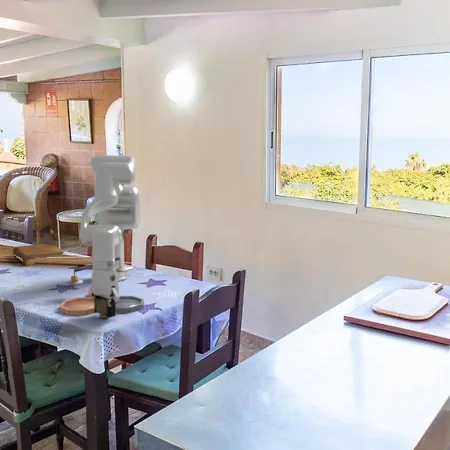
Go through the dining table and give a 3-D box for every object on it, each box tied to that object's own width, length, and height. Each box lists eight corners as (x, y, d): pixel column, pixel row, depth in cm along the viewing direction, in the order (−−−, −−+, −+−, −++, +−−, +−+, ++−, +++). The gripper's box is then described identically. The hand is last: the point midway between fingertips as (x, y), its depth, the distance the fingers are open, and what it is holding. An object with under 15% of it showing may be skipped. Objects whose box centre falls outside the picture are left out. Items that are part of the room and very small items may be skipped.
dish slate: (126, 297, 209) (126, 293, 209) (151, 306, 200) (151, 301, 200) (95, 306, 199) (95, 301, 198) (119, 315, 189) (119, 310, 189)
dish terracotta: (87, 299, 206) (87, 295, 206) (110, 308, 197) (110, 303, 197) (53, 308, 196) (53, 303, 195) (76, 317, 186) (75, 313, 186)
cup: (113, 321, 183) (112, 298, 182) (91, 320, 183) (91, 298, 182) (117, 314, 191) (117, 292, 189) (97, 313, 191) (96, 292, 189)
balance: (128, 293, 215) (127, 254, 213) (127, 299, 208) (127, 259, 205) (68, 294, 212) (67, 255, 209) (65, 301, 204) (64, 260, 201)
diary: (13, 258, 273) (12, 247, 272) (50, 253, 284) (49, 243, 283) (25, 267, 254) (24, 255, 253) (64, 262, 265) (63, 251, 264)
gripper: (128, 267, 181) (129, 317, 184) (98, 258, 192) (99, 306, 195) (110, 271, 175) (111, 322, 178) (80, 262, 187) (81, 311, 190)
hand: (104, 313), depth 187 cm, fingers closed on cup, 6 cm apart
